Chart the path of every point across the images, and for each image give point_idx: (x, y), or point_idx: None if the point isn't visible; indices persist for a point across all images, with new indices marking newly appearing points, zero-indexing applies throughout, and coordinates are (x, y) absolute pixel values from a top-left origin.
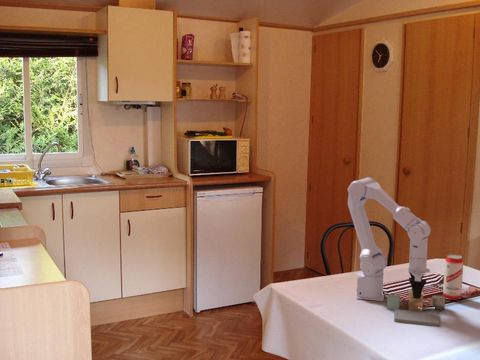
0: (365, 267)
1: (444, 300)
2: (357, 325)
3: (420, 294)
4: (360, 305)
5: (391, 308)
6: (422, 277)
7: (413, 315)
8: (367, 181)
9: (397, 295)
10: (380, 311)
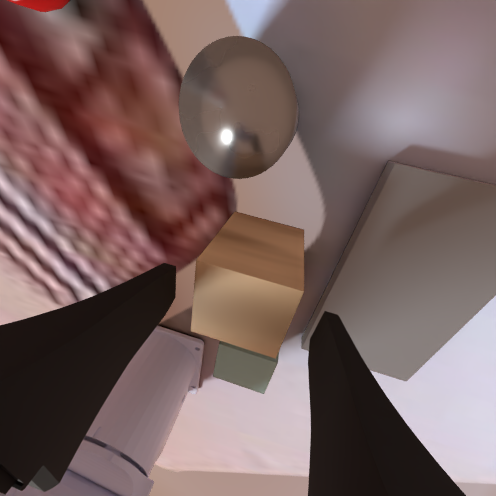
0: None
1: (277, 56)
2: None
3: (354, 348)
4: (245, 397)
5: None
6: (74, 341)
7: (389, 307)
8: None
9: (223, 352)
10: (294, 372)
